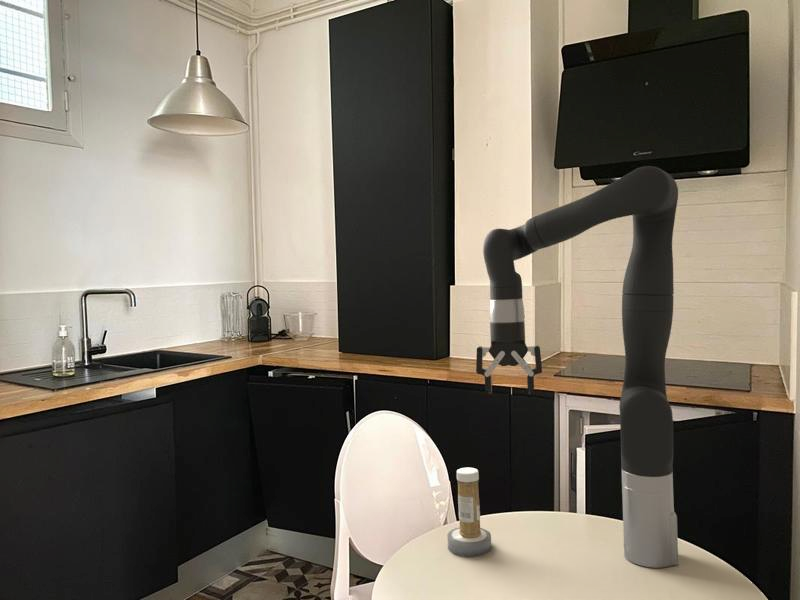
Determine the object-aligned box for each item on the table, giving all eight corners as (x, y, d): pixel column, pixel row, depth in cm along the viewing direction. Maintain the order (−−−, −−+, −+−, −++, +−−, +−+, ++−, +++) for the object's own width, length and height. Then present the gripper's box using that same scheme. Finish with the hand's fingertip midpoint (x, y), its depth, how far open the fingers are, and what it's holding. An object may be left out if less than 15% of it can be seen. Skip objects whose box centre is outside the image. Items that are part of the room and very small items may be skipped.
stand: (492, 539, 130) (492, 526, 130) (490, 557, 122) (489, 544, 122) (450, 537, 132) (450, 525, 132) (445, 555, 123) (444, 542, 123)
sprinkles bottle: (485, 534, 126) (483, 469, 126) (470, 540, 124) (467, 474, 123) (469, 528, 130) (467, 465, 130) (454, 534, 127) (451, 470, 127)
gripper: (473, 321, 133) (476, 396, 133) (540, 320, 130) (543, 396, 130) (476, 319, 140) (478, 390, 140) (539, 317, 137) (542, 390, 137)
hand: (509, 393), depth 135 cm, fingers open, 8 cm apart
